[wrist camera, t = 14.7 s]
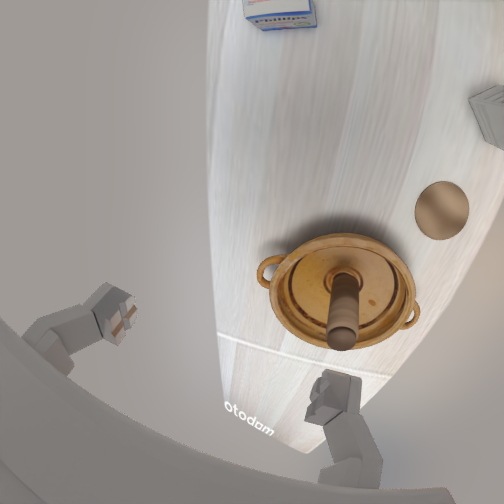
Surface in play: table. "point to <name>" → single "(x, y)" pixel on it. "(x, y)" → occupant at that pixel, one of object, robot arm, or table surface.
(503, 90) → the supplement box
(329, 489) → the robot arm
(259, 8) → the medicine box
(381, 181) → the table surface
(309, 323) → the ceramic bowl
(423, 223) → the cork coaster
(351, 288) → the pepper mill
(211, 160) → the table surface
